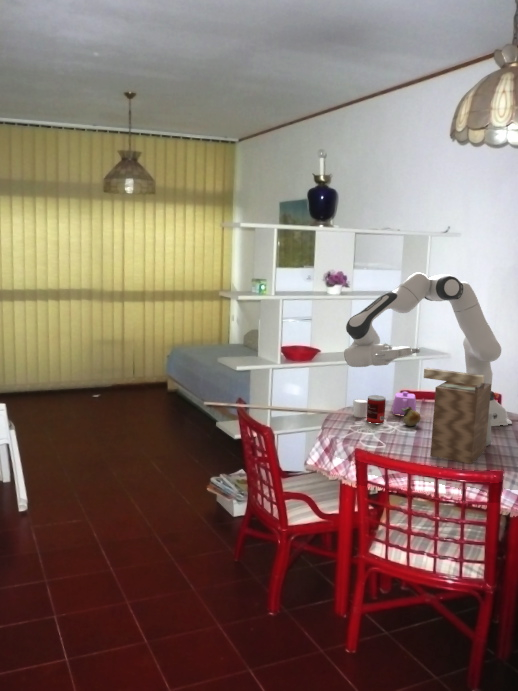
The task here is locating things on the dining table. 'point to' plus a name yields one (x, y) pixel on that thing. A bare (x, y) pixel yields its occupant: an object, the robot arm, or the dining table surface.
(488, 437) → the salt shaker
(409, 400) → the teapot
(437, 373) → the birch rod
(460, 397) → the walnut shelf
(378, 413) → the canned food
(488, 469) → the dining table surface
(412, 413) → the onion
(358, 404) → the white cylinder
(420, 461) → the dining table surface
